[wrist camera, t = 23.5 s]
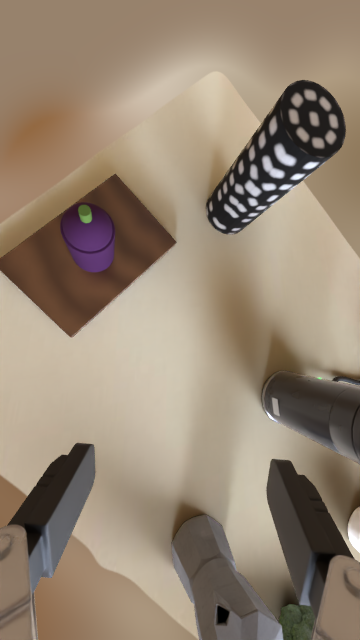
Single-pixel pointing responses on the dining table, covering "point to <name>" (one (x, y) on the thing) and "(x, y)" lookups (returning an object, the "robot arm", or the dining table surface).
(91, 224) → the eggplant
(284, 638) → the vegetable
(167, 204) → the dining table surface
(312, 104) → the spotted tube
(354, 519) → the candle holder
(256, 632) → the coffeepot
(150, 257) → the cutting board
